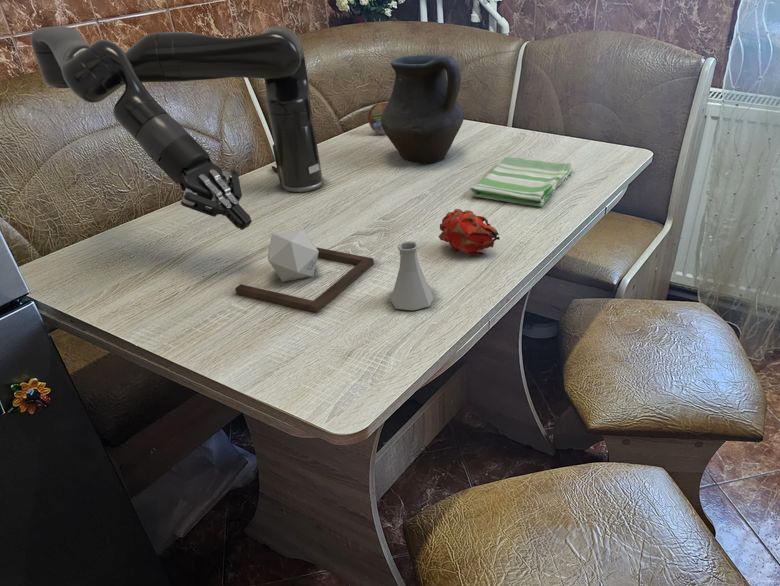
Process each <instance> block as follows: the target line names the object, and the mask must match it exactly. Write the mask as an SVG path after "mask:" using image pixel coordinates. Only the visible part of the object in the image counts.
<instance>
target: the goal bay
mask: <svg viewBox="0 0 780 586" xmlns="http://www.w3.org/2000/svg"><path fill="white" fill-rule="evenodd" d="M315 247H316V246H315ZM316 248H317V250H318V251H319V253H318V257H317V258H318V259H324V260H329V261H334V262H339V263H345V264H349V265H355V266H353V267H352V268H350V270H349V271H347V272H346V273H345V274H344V275H343V276H342V277H340V278H339V279H338V280H337V281H336V282H334V283H333V284H331V286H329V288H327V289H326V290H325V291H323V293H321V294H320V295H319V296H318V297H316V298H315V299H314V300H312V299H307V298H303V297H299V296H294V295H290V294H286V293H281V292H277V291H273V290H267V289H264V288H259V287H254V286H250V285H247V284H242V283H240V284H239V285H237V286H235V288H234V290H235V294H236V295H239V296H244V297H248V298H252V299H256V300H261V301H264V302H269V303H273V304H277V305H282V306H286V307H290V308H295V309H299V310H303V311H306V312H307V311H308V312H311V313H316V314H318V313H319V312H320V311H321V310H323V309H324V308H325V307H326V306H327V305H328V304H329V303H330V302H332V301H333V300H334V299H335V298H336V297H338V295H340V294H341V293H342V292H344V290H346V289H347V288H348V287H349V286H351V284H353V283H354V282H355V281H356V280H357V279H359V278H360V277H361V276H362V275H363V274H364V273H365V272H367V271H368V270H369V269H370V268H371V267H373V266H374V265H375V262H374V257H368V256H363V255H358V254H353V253H348V252H344V251H337V250H332V249H327V248H322V247H318V246H317V247H316Z"/></svg>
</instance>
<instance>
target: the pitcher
mask: <svg viewBox="0 0 780 586" xmlns="http://www.w3.org/2000/svg"><path fill="white" fill-rule="evenodd" d="M390 66H391V68H392V69H393V71H394V75H395V77H394V83H393V87H392V91H391V95H390V97H389V99H388V101H387V102H388V103H387V105H386V107H385V109H384V111H383V113H382V116H381V125H382V128H383V130H384V132H385V134H386V135H385V136H386V137H387V138H388V140H389V141H390V143H391V144H392V145H393V147H394V148H395V149H396V151H397V153H398V154H399V156H400V157H401V159H403V160H404V161H406V162H409V163H414V164H434V163H437V162H441V161H442V160H444V159H445V158H446V156H447V154H448V152H449V151H450V149H451V147H452V145H453V142H454V141H455V139H456V136H457V135H458V133H459V131H460V129H461V127H462V125H463V123H464V117H465V113H464V109H463V107H462V105H461V104H460V102H459V101H458V99H457V98H458V96H459V94H460V93H459V92H460V89H461V84H462V83H461V82H462V71H461V68H460V65H459V63H458V61H457V59H456V58H455V57H453V56H452V55H449V54H442V55H439V54H431V55H429V54H415V55H414V54H412V55H403V56H400V57H397V58H394V59H393V60H391V61H390Z"/></svg>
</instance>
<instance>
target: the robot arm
mask: <svg viewBox="0 0 780 586" xmlns="http://www.w3.org/2000/svg"><path fill="white" fill-rule="evenodd" d="M30 44H31V48H32V51H33V54H34V56H35V61H36V62H37V65H38V69H39V71H40V74H41V76H42V80H43V81H44V83H45V84H46V85H47V86H48V87H51V88H55V89H66V90H67V89H70V90H71V91H72V93H74V95H76V96H77V97H78V98H79V99H81V100H82V101H84V102H87V103H90V104H96V103H97V104H98V103H101V102H103V101H104V100H106V99H107V98H108V97H110V96H111V95H112V94H114V93H115V92H116V91H118V90H119V89H120V88H122V87H123V86H125V90H124V92H123V93H122V95H121V96H120V98H119V99H118V100H117V101H116V103H115V104H114V106H113V109H112V114H113V117H114V118H115V120H116V121H117V122H118V124H120V126H121V127H122V128H123V129H124V130H125V131H126V132H127V133H128V134H129V135H130V136H131V137H132V138H133V139H134V140H135V141H136V142H137V143H138V144H139V146H140V147H141V149H142V150H143V151H144V153H145V154H146V155H147V156H148V157H149V158H150V159H151V160H152V161H154V163H155V164H156V165H157V166H158V167H159V169H161V171H163V172H164V173H165V174H166V175H167V177H169V178H170V180H171V181H172V182H174V183H175V184H177V185H179V186H180V189H181V190H182V191H183V196H182V198H181V200H180V205H181V206H182V207H185V208H188V209H190V210H193V211H196V212H199V213H202V214H204V215H208V216H210V217H213V218H215V217H217V216H218V215H221V216H223V217H226V218H227V220H229V221H230V223H231V224H233V226H235V228H237V229H240V230H241V231H243V230H245V229H247V228H248V227H249V226H250V225H251V224H252V222H253V221H252V218H251V216H250V214H249V213H247V211H246V210H245V209H244V208H243V206H241V205H240V203H239V202H240V201H241V199H242V197H243V192H242V188H241V187H242V186H241V183H240V177H239V173H238V171H237V170H236V169H231V170H230V171H226V170H222V168H221V167H220V166H218V165H217V164H215V163H213V162H212V160H211V157H210V155H209V153H208V152H207V150H206V149H204V148H203V147H202V145H200V143H199V142H198V141H197V140H196V139H195V138H194V137H193V136H192V134H190V132H188V131H187V130H186V129H185V127H183V125H182V124H180V122H178V121H177V120H176V119H175V118H173V116H171V115H170V114H169V113H168V112H167V111H166V110H165V108H164V107H162V106H161V105H160V103H158V102H157V100H156V99H155V98H154V97H153V96H152V95H151V93H150V92H149V91H148V90H147V88H146V87H145V85H144V83H145V84H148V83H150V84H151V83H152V84H153V83H154V84H155V83H156V84H158V83H161V84H162V83H163V84H164V83H165V84H167V83H170V84H171V83H190V82H200V81H201V82H202V81H213V80H219V79H221V80H222V79H229V78H246V79H262V80H263V81H264V87H265V104H266V109H267V112H268V118H269V123H270V127H271V133H272V137H273V142H274V144H272V152H273V156H274V161H275V165H272V166H271V170H272V171H275V172H276V173H277V175H278V180H279V185H280V186H281V187H282V189H283V190H285V191H286V192H292V193H306V192H311V191H315V190H317V189H320V188H321V187H322V186H323V185H324V178H323V173H322V166H321V160H320V154H319V148H318V142H317V136H316V135H317V134H316V129H315V124H314V123H315V122H314V118H313V112H312V105H311V98H310V95H311V93H310V84H309V78H308V71H307V65H306V59H305V58H306V57H305V52H304V48H303V44H302V42H301V40H300V38H299V36H298V35H297V34H296V33H295V32H294V31H293V30H291V29H290V28H289V27H286V26H282V25H275V26H271V27H268V28H266V29H265V30H264V31H263V32H262V33H259V34H254V35H248V36H247V35H246V36H240V37H239V36H238V37H218V36H212V35H207V34H201V33H196V32H186V31H185V32H184V31H167V32H151V33H148V34H146V35H145V36H143V37H141V38H140V39H138V41H137V42H135V43H134V44H132V46H131V47H129V48H128V50H126V51H124V50H123V48H121V46H119V45H118V44H116V43H115V42H113V41H110V40H107V39H99V40H97V41H95V42H93V43H92V44H91V45H90V44H88V43H87V42H86V41H85V39H84V38H83V37H82V34H80V32H79V31H78V30H77V29H75V28H72V27H69V26H61V25H59V26H58V25H57V26H56V25H55V26H45V27H44V26H43V27H39V28H36V29H35V30H34V31H32V32H31V34H30Z"/></svg>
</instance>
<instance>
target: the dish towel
mask: <svg viewBox="0 0 780 586" xmlns="http://www.w3.org/2000/svg"><path fill="white" fill-rule="evenodd" d="M572 165H573V164H572V163H569V162H568V163H567V162H561V163H559V162H550V161H542V160H535V159H526V158H520V157H505V158H503V159H502V160H501V161H500V162H499V163H498V164H497V165H496V166H495V167H494V168H492V170H491V171H490V172H489V173H487V174H486V175H485V176H484V177H483V178H482V179H480V180H478V182H477V183H475V184H474V185H472V186H470V187H469V190H470V192H471V193H472V194H473V196H474V197H477V198H483V199H489V200H495V201H501V202H505V203H513V204H517V205H518V204H519V205H523V206H525V205H526V206H533V207H540V208H542V207H543V206H544V205H545V204H546V202H547V201H548V199H549V198H550V197H551V196H552V195H551V194H552V193H553V192H554V191H555V190H556V189H557V188H558V187H559V186H560V185H561V184H562V182H563V181H564V180H565V179H566V178H567V177H568V176H569V175H570V173H571V172H572V170H573V168H572Z"/></svg>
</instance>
